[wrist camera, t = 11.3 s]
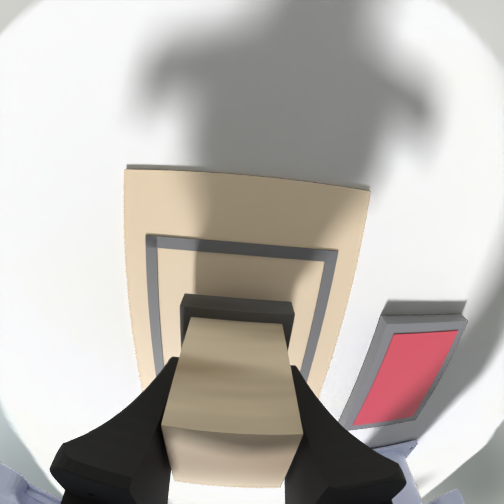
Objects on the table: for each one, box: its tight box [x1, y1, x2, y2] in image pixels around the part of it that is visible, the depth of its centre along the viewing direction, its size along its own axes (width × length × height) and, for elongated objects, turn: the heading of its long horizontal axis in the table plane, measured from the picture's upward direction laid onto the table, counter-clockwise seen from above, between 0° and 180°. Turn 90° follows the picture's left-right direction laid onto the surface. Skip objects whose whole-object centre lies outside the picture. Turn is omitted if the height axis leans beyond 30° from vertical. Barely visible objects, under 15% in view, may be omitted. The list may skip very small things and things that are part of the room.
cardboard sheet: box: [124, 169, 370, 398], centre depth 16 cm, size 16×12×1 cm
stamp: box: [161, 293, 303, 488], centre depth 11 cm, size 5×5×7 cm
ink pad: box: [338, 314, 468, 431], centre depth 17 cm, size 10×7×1 cm
